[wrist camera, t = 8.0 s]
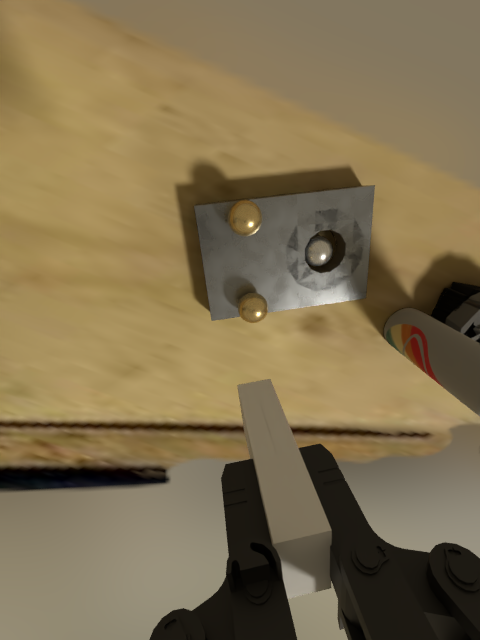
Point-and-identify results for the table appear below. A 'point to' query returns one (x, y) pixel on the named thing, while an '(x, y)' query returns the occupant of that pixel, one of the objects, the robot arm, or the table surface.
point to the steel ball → (318, 251)
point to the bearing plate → (287, 250)
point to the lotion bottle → (438, 353)
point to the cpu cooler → (460, 309)
